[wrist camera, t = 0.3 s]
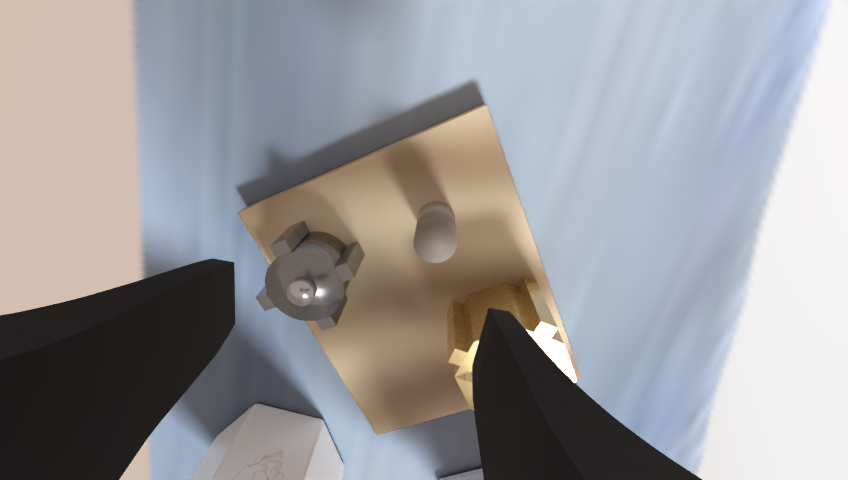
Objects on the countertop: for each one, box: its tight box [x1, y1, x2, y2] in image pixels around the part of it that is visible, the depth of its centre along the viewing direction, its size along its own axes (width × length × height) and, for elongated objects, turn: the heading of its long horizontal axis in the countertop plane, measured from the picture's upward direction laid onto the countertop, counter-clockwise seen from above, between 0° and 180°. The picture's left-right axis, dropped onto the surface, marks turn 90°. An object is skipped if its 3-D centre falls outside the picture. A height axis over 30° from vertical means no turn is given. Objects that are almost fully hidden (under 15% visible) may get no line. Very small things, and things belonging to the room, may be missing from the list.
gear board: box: [238, 104, 581, 435], centre depth 20 cm, size 16×13×4 cm
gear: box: [256, 221, 365, 331], centre depth 19 cm, size 5×5×3 cm
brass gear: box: [447, 277, 578, 410], centre depth 19 cm, size 5×5×4 cm
